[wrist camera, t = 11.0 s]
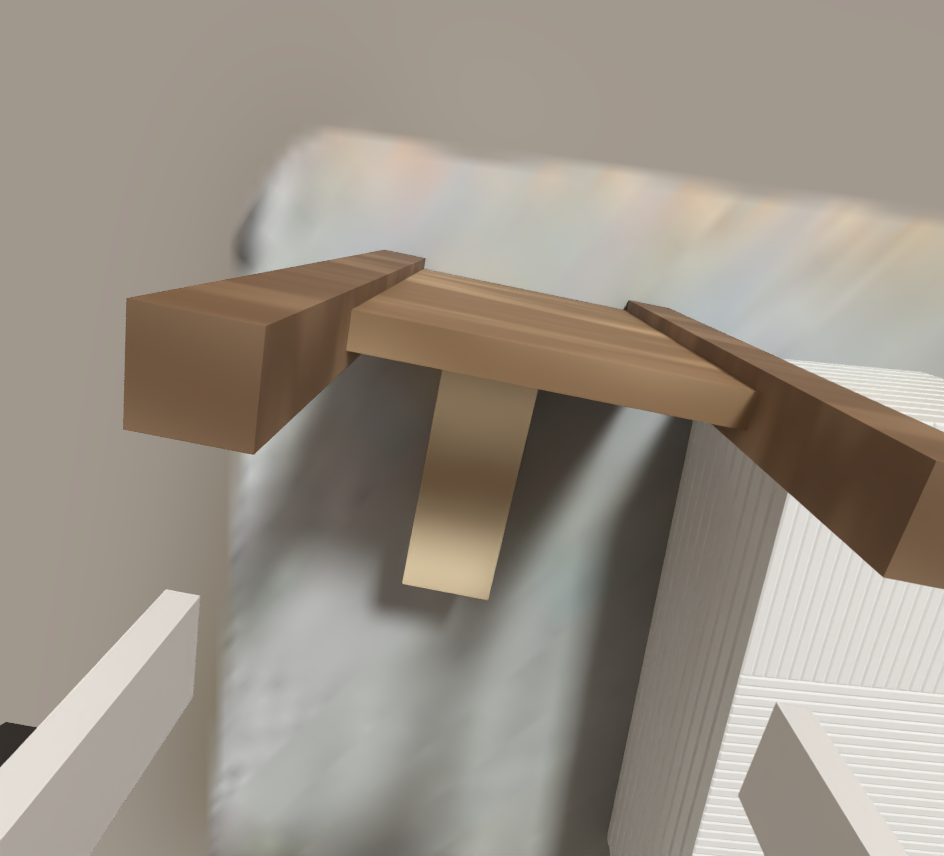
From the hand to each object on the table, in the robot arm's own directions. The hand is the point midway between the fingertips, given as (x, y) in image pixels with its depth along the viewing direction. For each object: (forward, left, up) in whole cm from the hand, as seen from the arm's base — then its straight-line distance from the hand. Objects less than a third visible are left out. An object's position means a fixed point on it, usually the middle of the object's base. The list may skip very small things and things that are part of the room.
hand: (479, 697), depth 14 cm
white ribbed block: (-9, -17, -20) cm, 27 cm away
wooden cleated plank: (+6, 0, -19) cm, 20 cm away
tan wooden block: (0, +1, -19) cm, 19 cm away
